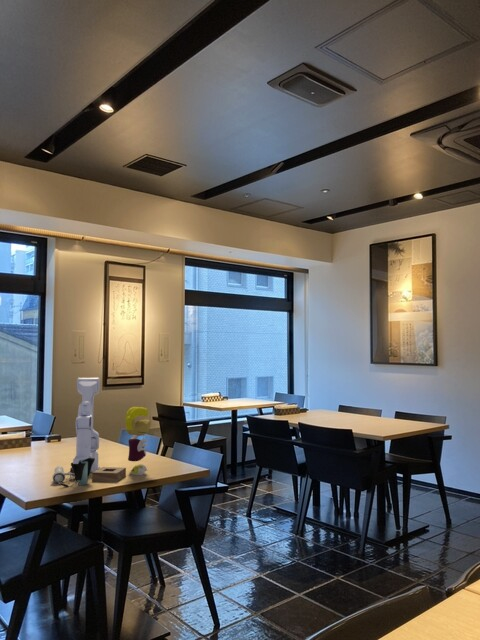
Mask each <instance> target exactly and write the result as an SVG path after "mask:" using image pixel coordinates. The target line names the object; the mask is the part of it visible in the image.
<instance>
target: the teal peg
mask: <svg viewBox="0 0 480 640" xmlns="http://www.w3.org/2000/svg"><path fill="white" fill-rule="evenodd" d="M81 463H85V466H84V469H83V474H82V480H81V481H78V480H77V481H78V483H77V485H78V486H86V485H88V476H87V475H88V462H87V461H81Z"/></svg>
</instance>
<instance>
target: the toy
mask: <svg viewBox="0 0 480 640" xmlns="http://www.w3.org/2000/svg"><path fill="white" fill-rule="evenodd" d="M148 413H149V412H148V408H146V407H141V406H132V407H130V408H129V409H128V410H127V412H126V414H125V416H124V418H125V430H126V432H127V434H128V435H130V436H132V437H131V438H130V439H128V457H127V460H128V461H129V462H139V461H141V460H142V459H144V458H145V457H146V455H147V451H146V448H145V447H147V446H148V445H149V444H148V443H146V442H148V441H149V438H144V437H143V438H142V439H139V438H138V437H141V436H145V435H146V434H147V433H148V432H149V430H150V428H151V423H152V422H151V420H150V419H140V420H137V421H136V422H135V419H136V418H137V417H139V416H142V417H147V418H148V417H149V415H148ZM146 470H147V471H148V468H147V466H146V465H145V464H142V463H140V464H137V465H133V467H132V469H131V470H130V471H129V474H130V475H133V476H135V475H136V476H142V475H143V474H144V475H146V472H147V471H146Z"/></svg>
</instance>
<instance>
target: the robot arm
mask: <svg viewBox="0 0 480 640" xmlns="http://www.w3.org/2000/svg"><path fill="white" fill-rule="evenodd" d="M100 384H101V381H100V377H77V378H76V390H77V393H78V394H79V395H80V396H81V403H79V405H78V410H77V417H76V418H75V435H76V442H75V443H76V448H75V449H76V450H75V451H76V452H75V457H74V458H73V459H72V462H71V463H70V466H71V468H73V470H74V474H75V478H76V480H77V481H81V480H82V474H83V469H84V466H85V463H81V461H87V462H88V475H87V477H90V474H91V473H92V472H94V471H96V470H98V469H100V468H101V467H100V466H99V452H98V450H99V448H100V433H99V432H98V431H96V430H95V429H94V405H95V403H94V402H95V401H94V398H95V396H96V395H99V394H100V387H101V386H100ZM75 478H74V479H75Z"/></svg>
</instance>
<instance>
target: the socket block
mask: <svg viewBox="0 0 480 640" xmlns="http://www.w3.org/2000/svg"><path fill="white" fill-rule="evenodd" d="M91 473H92V475H91V482H119V481H120V480H121V479H123V478H124V477H126V476H127V474H126V473H127V467H120V466H119V467H116V466H113V467H111V466H110V467H109V466H102V467H100V468H99V469H97V470H95V471H93V472H91Z"/></svg>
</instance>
